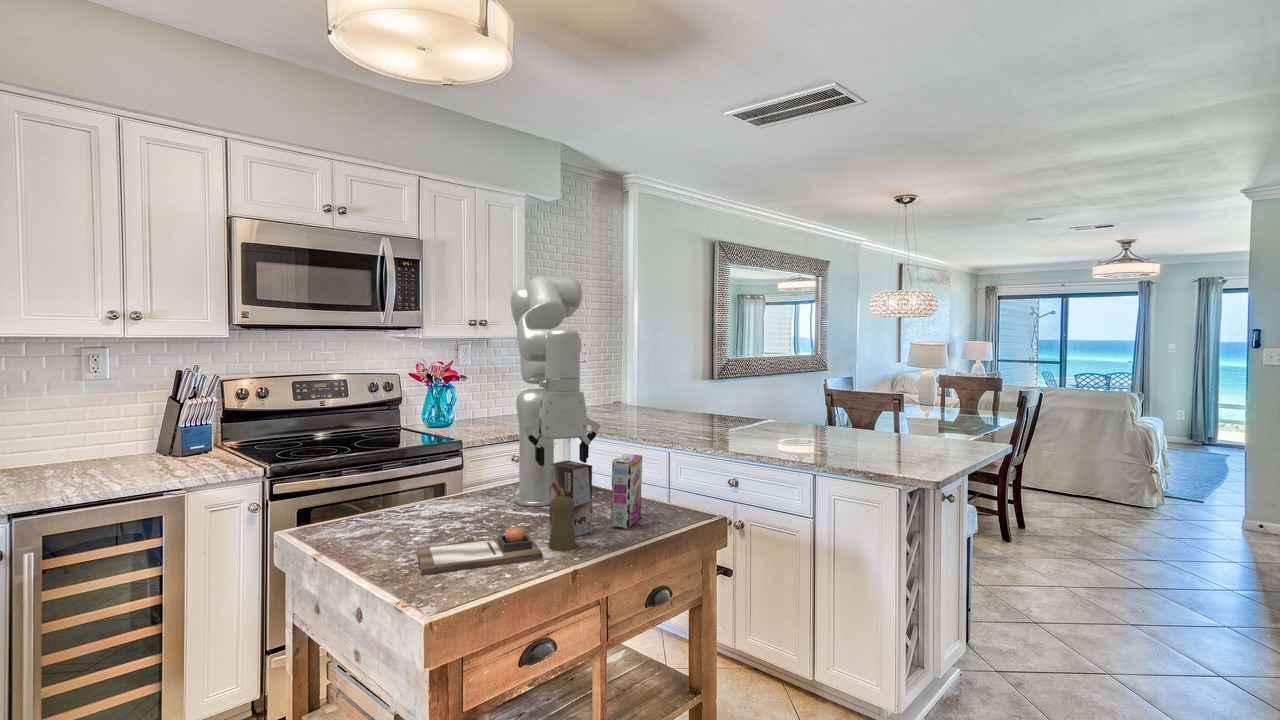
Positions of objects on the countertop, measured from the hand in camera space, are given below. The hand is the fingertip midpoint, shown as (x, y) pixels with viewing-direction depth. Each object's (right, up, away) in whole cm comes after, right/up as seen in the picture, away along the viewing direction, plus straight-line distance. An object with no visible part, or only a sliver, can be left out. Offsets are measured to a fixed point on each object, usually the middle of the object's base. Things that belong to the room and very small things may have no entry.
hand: (562, 463), depth 139 cm
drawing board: (-17, -19, -6) cm, 26 cm away
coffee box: (+1, -18, +12) cm, 22 cm away
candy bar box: (+14, -18, +19) cm, 30 cm away
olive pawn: (0, -19, +1) cm, 19 cm away
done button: (-10, -16, -3) cm, 19 cm away
